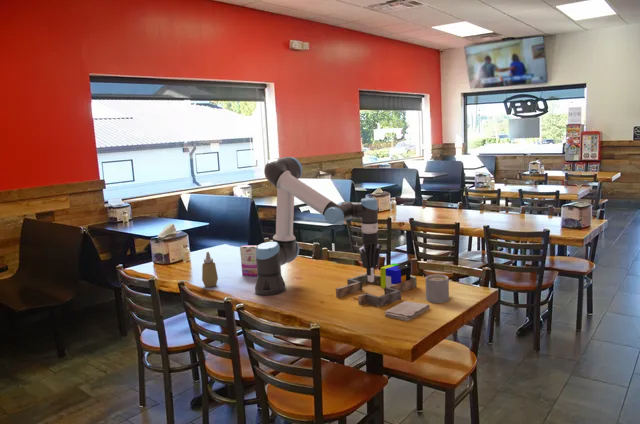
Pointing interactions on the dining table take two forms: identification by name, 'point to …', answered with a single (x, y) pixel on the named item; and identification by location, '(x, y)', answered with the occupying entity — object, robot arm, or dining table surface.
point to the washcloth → (406, 310)
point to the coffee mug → (437, 288)
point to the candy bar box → (248, 260)
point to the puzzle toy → (394, 274)
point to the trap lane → (390, 295)
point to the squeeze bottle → (209, 272)
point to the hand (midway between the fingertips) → (370, 281)
